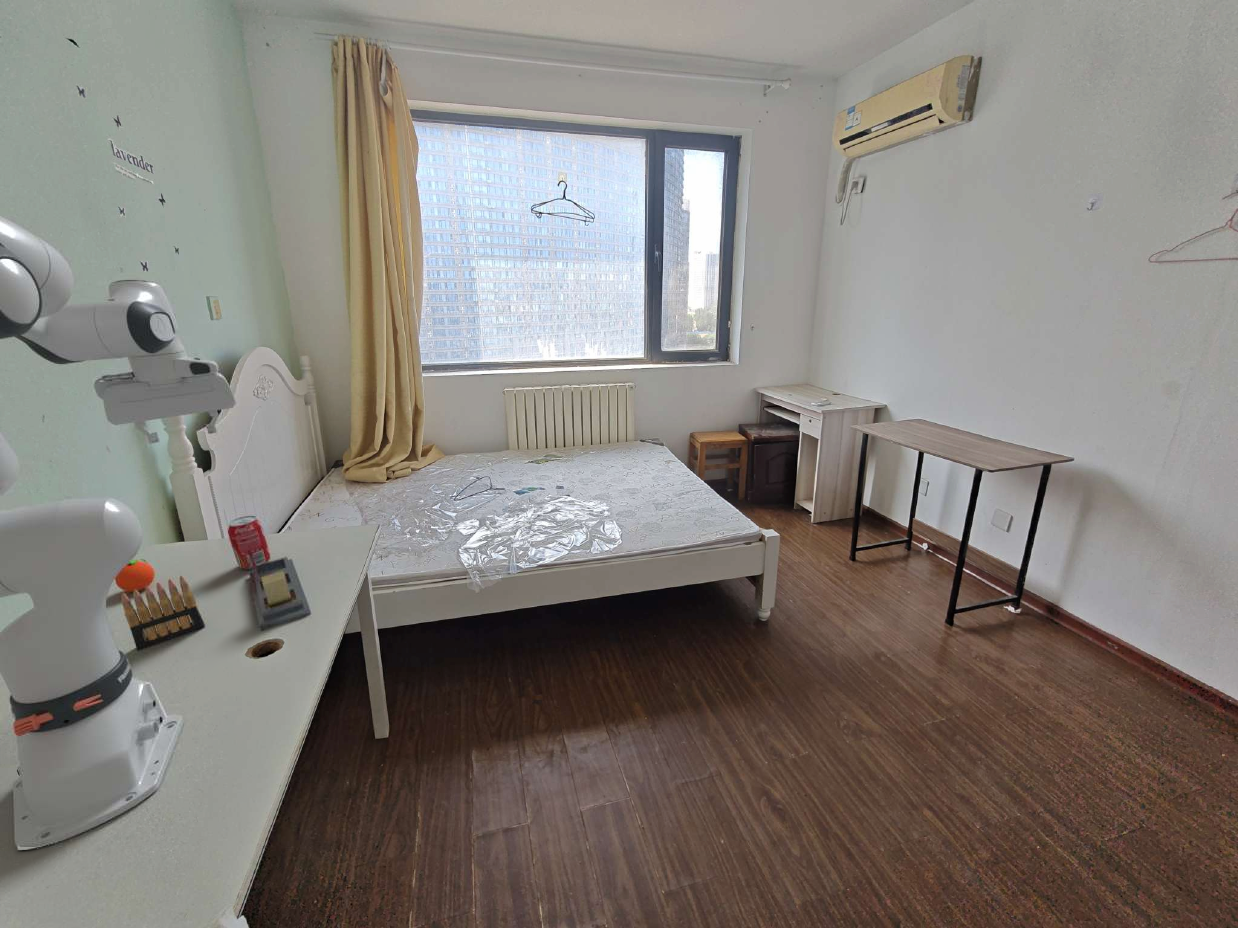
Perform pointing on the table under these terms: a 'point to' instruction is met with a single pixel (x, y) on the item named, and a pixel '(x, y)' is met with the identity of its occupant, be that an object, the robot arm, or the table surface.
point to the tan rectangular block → (276, 589)
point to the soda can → (248, 542)
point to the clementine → (135, 576)
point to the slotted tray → (285, 611)
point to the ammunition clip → (162, 615)
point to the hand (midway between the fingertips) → (184, 437)
